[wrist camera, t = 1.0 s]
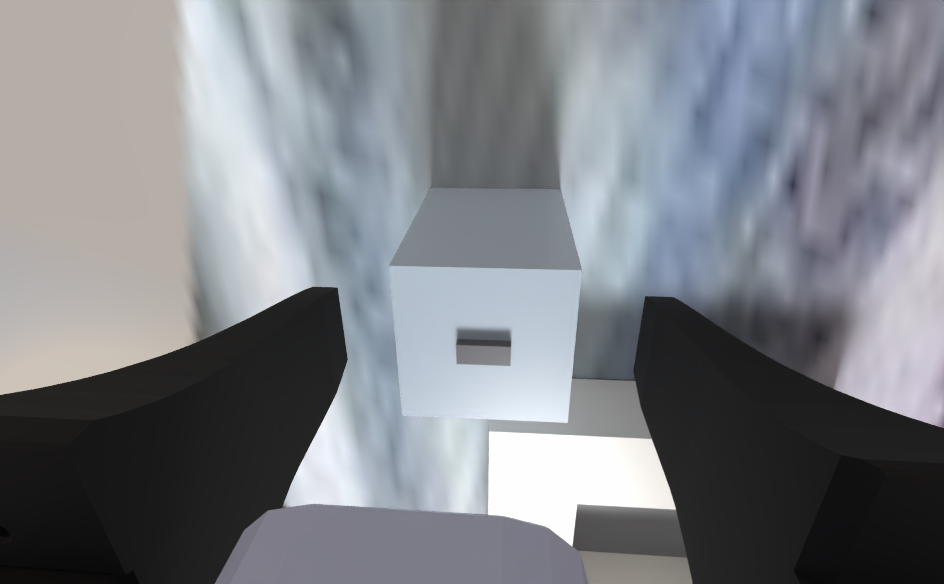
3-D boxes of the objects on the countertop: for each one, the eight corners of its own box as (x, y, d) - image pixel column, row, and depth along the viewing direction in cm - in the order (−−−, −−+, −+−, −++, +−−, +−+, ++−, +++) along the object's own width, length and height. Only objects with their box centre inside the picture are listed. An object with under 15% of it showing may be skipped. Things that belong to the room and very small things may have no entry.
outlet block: (490, 584, 25) (487, 652, 22) (493, 375, 19) (489, 431, 17) (754, 602, 24) (784, 675, 21) (834, 388, 18) (888, 449, 16)
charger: (436, 300, 18) (400, 422, 13) (430, 187, 16) (386, 270, 11) (552, 304, 18) (568, 430, 12) (560, 189, 16) (583, 275, 10)
